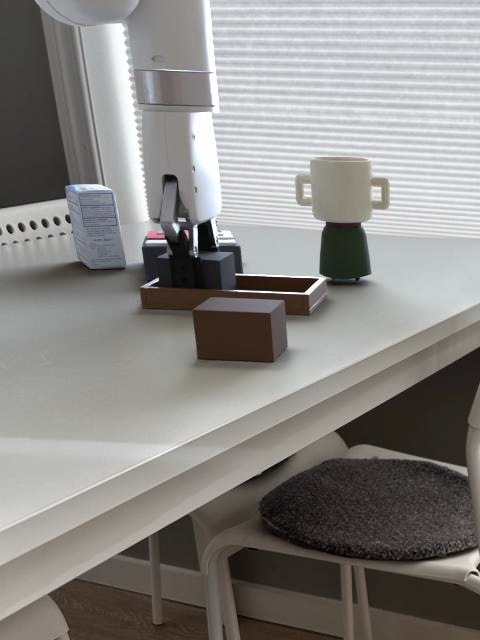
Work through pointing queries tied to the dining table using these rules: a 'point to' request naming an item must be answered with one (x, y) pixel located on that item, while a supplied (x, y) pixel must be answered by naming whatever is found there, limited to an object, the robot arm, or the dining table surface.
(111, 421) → the dining table surface
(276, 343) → the pad
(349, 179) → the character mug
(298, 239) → the dining table surface
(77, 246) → the medicine box
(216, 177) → the robot arm
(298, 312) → the tray
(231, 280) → the pad
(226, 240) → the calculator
